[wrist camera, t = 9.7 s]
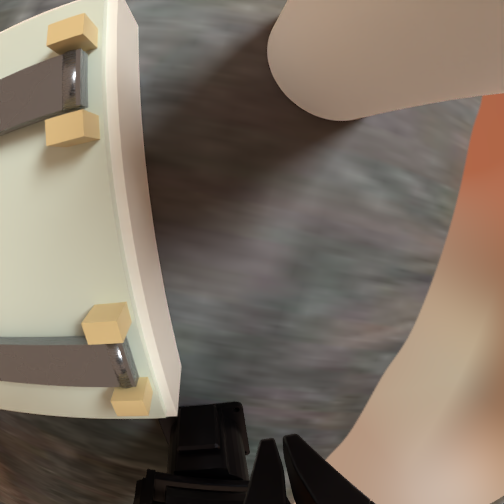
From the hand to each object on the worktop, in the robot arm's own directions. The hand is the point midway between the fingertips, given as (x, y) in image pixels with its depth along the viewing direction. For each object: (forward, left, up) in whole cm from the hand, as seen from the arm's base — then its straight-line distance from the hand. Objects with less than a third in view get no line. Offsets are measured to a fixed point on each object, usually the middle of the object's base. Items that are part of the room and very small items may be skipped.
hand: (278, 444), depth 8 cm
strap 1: (+12, +12, -6) cm, 18 cm away
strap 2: (0, +12, -6) cm, 14 cm away
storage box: (+6, +12, -12) cm, 18 cm away
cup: (+14, -7, -12) cm, 20 cm away
